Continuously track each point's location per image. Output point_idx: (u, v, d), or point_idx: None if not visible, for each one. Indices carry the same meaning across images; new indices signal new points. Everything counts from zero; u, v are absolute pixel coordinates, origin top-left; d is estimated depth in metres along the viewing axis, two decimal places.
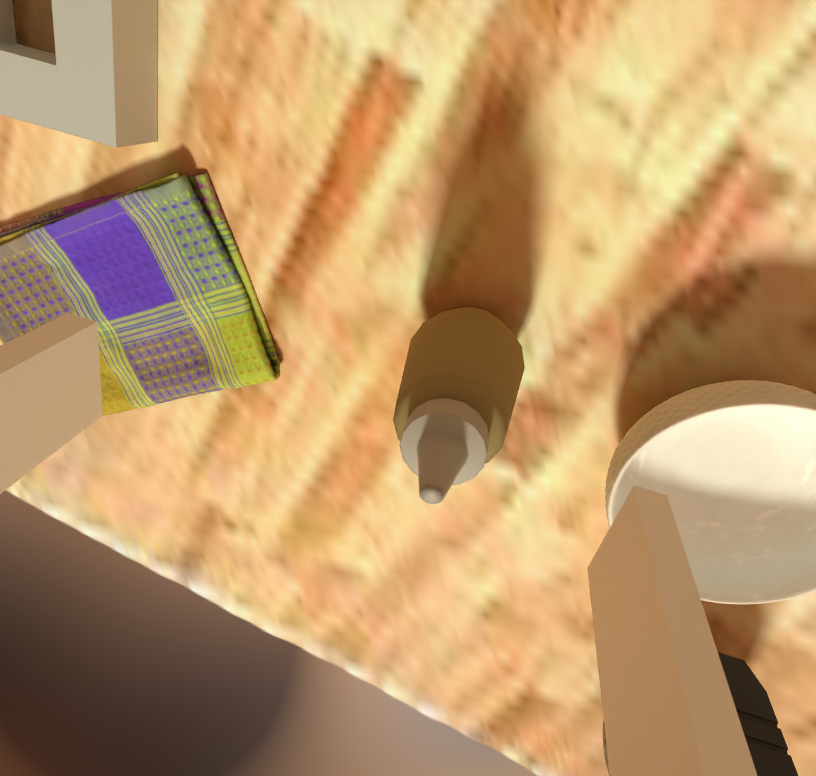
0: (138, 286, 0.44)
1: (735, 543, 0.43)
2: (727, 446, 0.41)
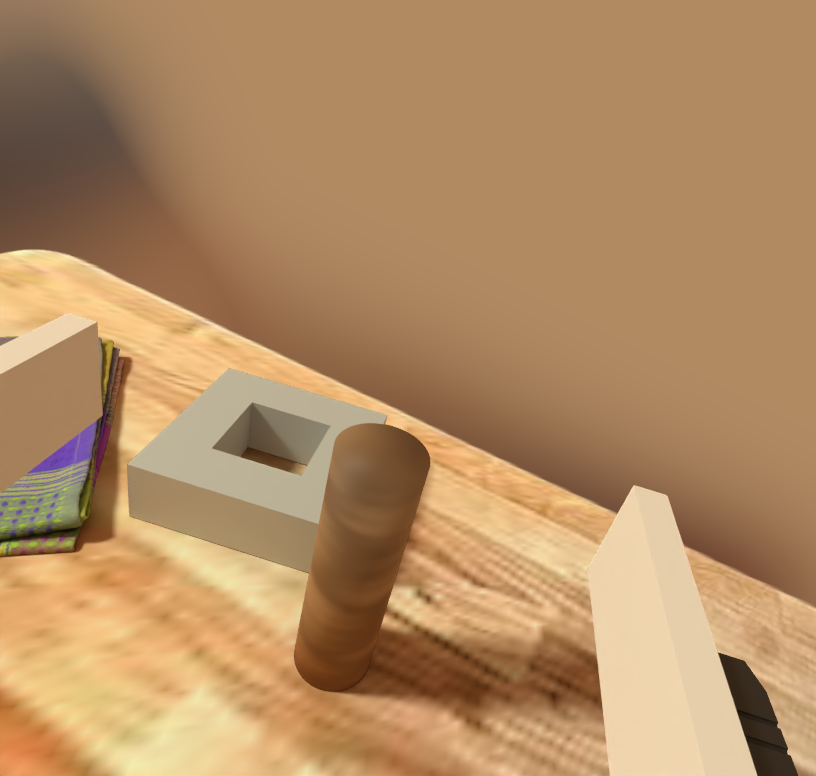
0: None
1: None
2: None
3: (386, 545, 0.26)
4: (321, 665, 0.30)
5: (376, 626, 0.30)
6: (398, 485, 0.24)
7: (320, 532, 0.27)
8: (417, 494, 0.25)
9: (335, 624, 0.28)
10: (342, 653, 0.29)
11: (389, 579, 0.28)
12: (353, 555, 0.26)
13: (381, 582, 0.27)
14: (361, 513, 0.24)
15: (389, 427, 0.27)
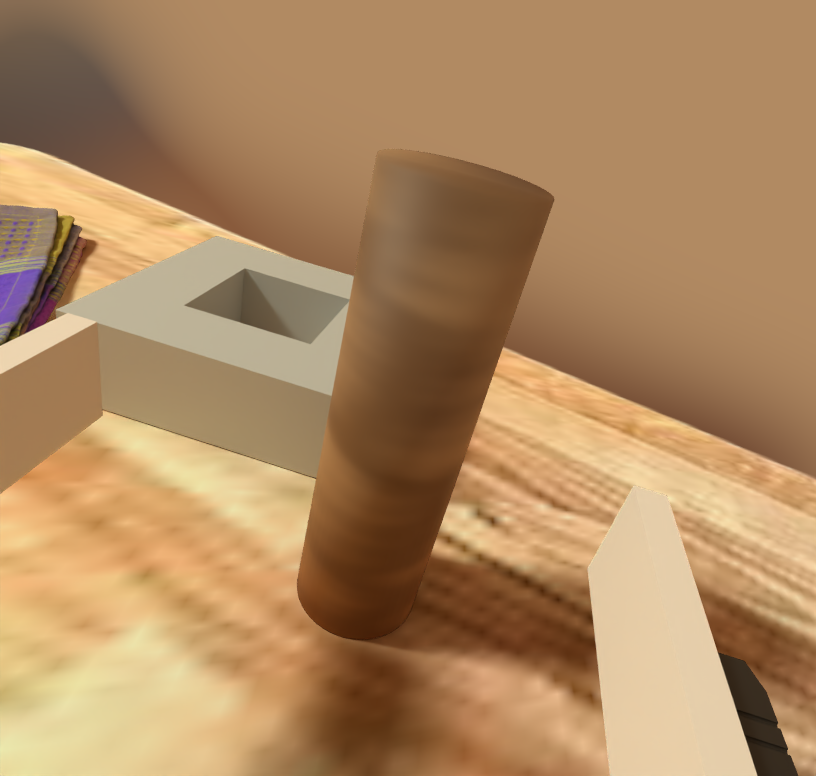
0: None
1: None
2: None
3: (469, 350, 0.14)
4: (342, 593, 0.18)
5: (434, 527, 0.18)
6: (506, 201, 0.12)
7: (346, 341, 0.15)
8: (532, 247, 0.13)
9: (369, 514, 0.16)
10: (377, 571, 0.18)
11: (464, 433, 0.16)
12: (409, 369, 0.14)
13: (453, 434, 0.15)
14: (430, 269, 0.13)
15: (469, 163, 0.15)
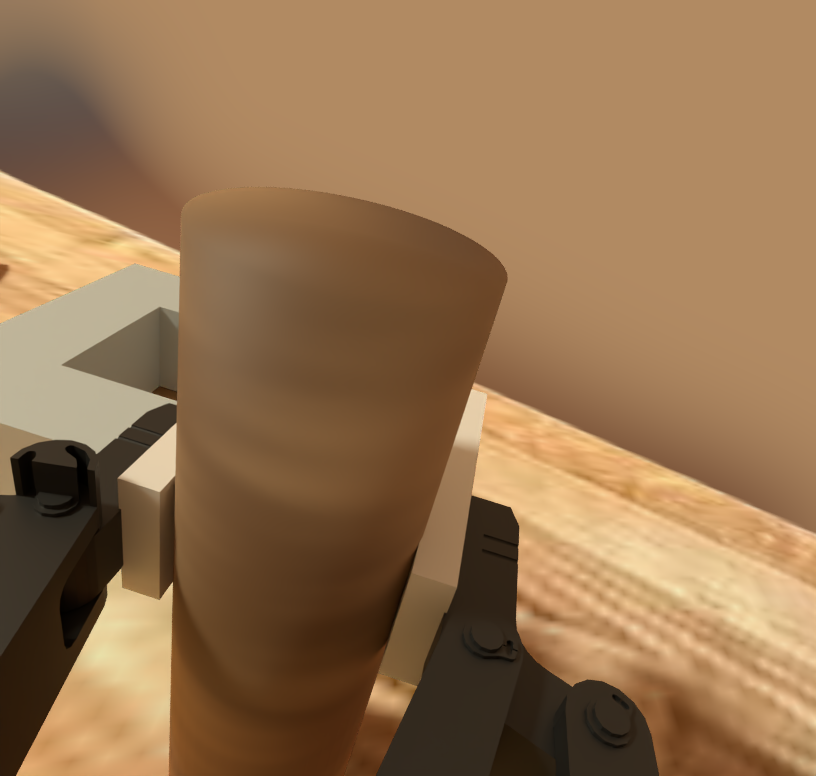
0: None
1: None
2: None
3: (363, 540, 0.08)
4: None
5: (345, 743, 0.12)
6: (403, 307, 0.06)
7: None
8: (467, 369, 0.07)
9: (232, 751, 0.11)
10: None
11: (375, 636, 0.10)
12: (260, 572, 0.08)
13: (353, 645, 0.10)
14: (272, 422, 0.07)
15: (377, 206, 0.10)
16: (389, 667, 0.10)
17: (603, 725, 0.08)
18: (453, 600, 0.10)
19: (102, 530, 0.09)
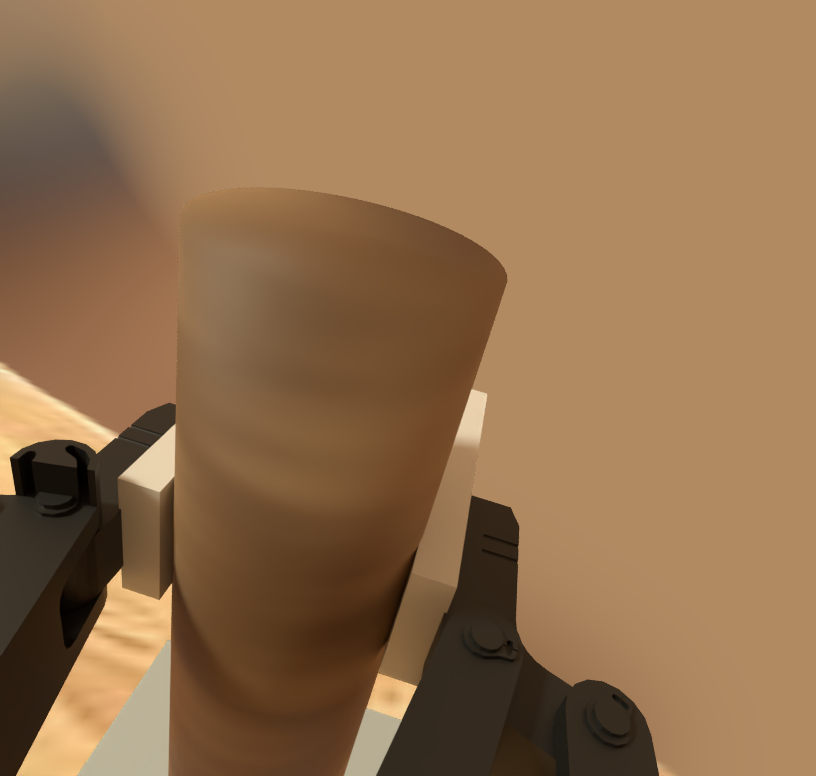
0: None
1: None
2: None
3: (362, 541, 0.08)
4: None
5: (345, 744, 0.12)
6: (402, 308, 0.06)
7: (174, 503, 0.09)
8: (467, 370, 0.07)
9: (232, 752, 0.11)
10: None
11: (375, 637, 0.10)
12: (259, 574, 0.08)
13: (353, 647, 0.10)
14: (270, 424, 0.07)
15: (377, 207, 0.10)
16: (389, 667, 0.10)
17: (603, 725, 0.08)
18: (453, 600, 0.10)
19: (102, 530, 0.09)
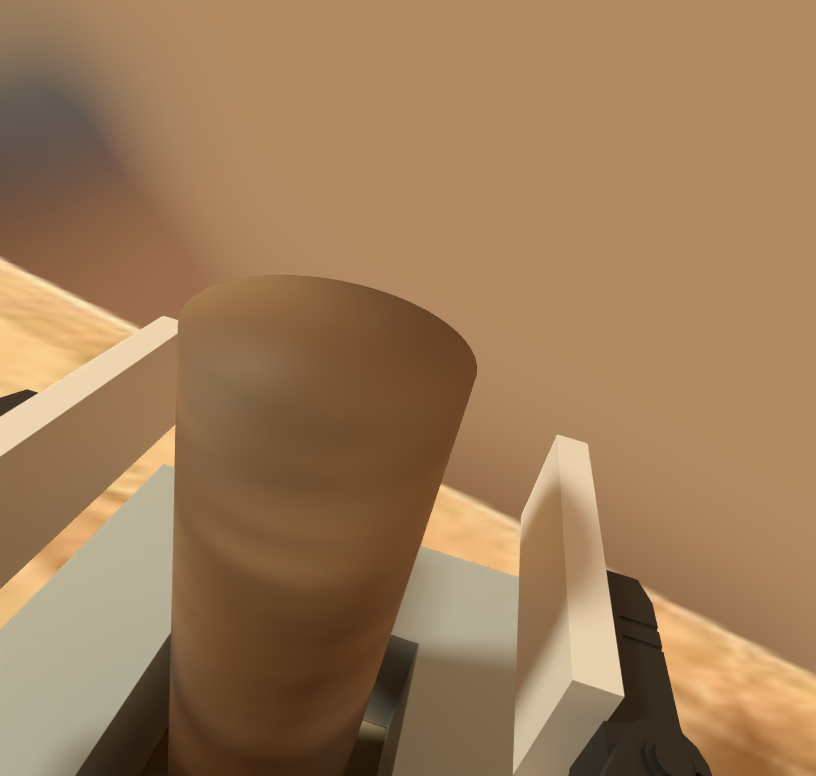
0: None
1: None
2: None
3: (345, 610, 0.09)
4: None
5: None
6: (376, 420, 0.07)
7: (172, 566, 0.10)
8: (439, 458, 0.08)
9: None
10: None
11: (360, 687, 0.11)
12: (250, 639, 0.09)
13: (339, 698, 0.10)
14: (259, 514, 0.08)
15: (361, 289, 0.10)
16: (526, 770, 0.09)
17: None
18: None
19: None
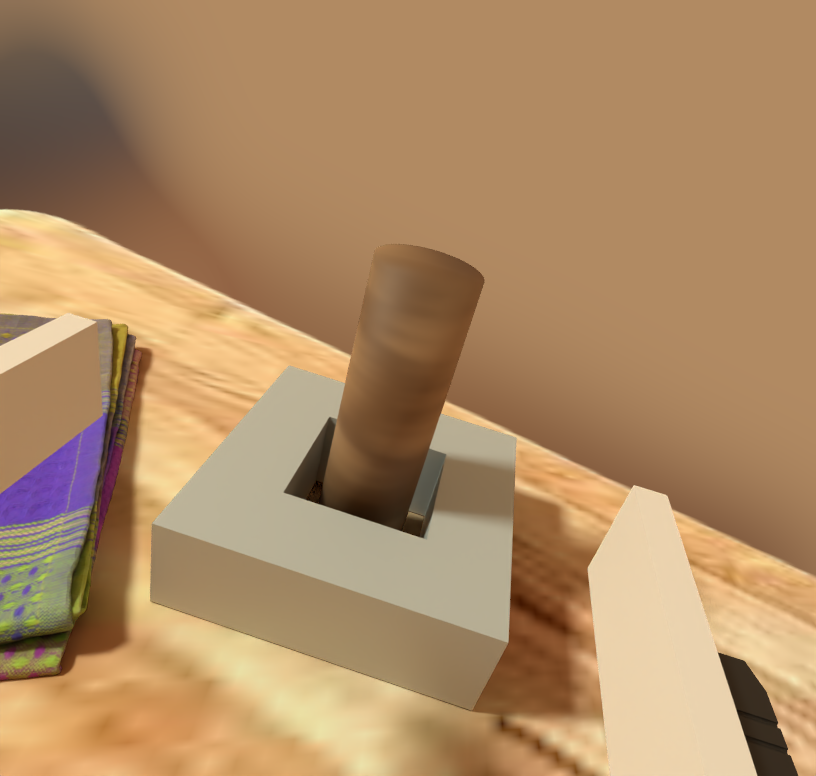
0: None
1: None
2: None
3: (431, 375, 0.22)
4: None
5: (409, 492, 0.26)
6: (451, 289, 0.20)
7: (353, 367, 0.23)
8: (470, 312, 0.22)
9: (365, 481, 0.25)
10: None
11: (429, 428, 0.24)
12: (393, 387, 0.22)
13: (421, 428, 0.24)
14: (406, 327, 0.21)
15: (433, 251, 0.24)
16: None
17: None
18: None
19: None
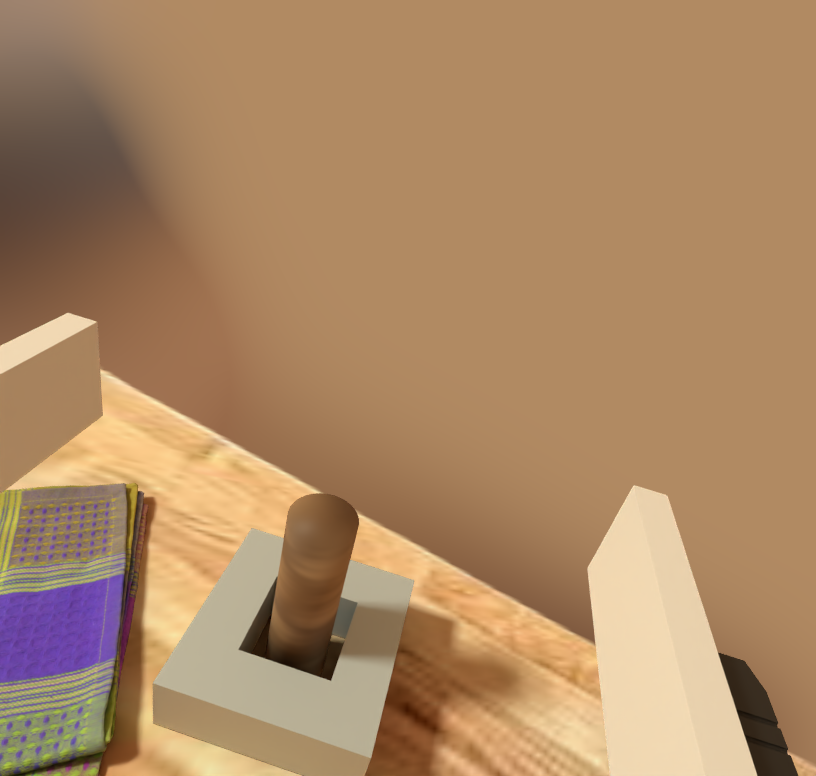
0: (15, 645, 0.38)
1: None
2: None
3: (326, 585, 0.35)
4: None
5: (324, 643, 0.39)
6: (331, 545, 0.33)
7: (279, 574, 0.36)
8: (348, 549, 0.35)
9: (292, 641, 0.38)
10: (297, 663, 0.39)
11: (331, 608, 0.37)
12: (302, 593, 0.35)
13: (325, 611, 0.37)
14: (306, 563, 0.34)
15: (331, 496, 0.37)
16: None
17: None
18: None
19: None
